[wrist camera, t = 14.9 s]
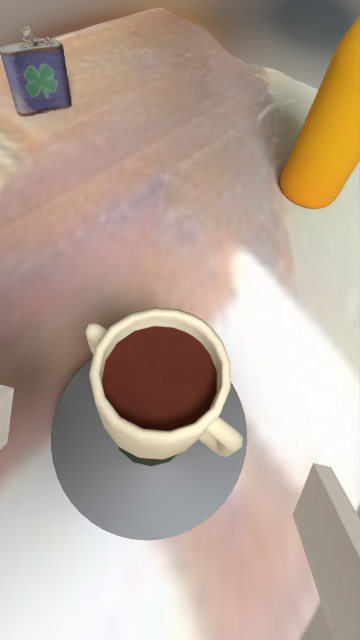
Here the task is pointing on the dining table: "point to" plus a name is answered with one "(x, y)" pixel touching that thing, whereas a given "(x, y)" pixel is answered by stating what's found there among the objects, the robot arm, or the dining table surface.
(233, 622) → the dining table surface
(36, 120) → the dining table surface
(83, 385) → the plinth
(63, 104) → the flask
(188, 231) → the dining table surface
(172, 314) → the character mug
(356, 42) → the beer bottle
